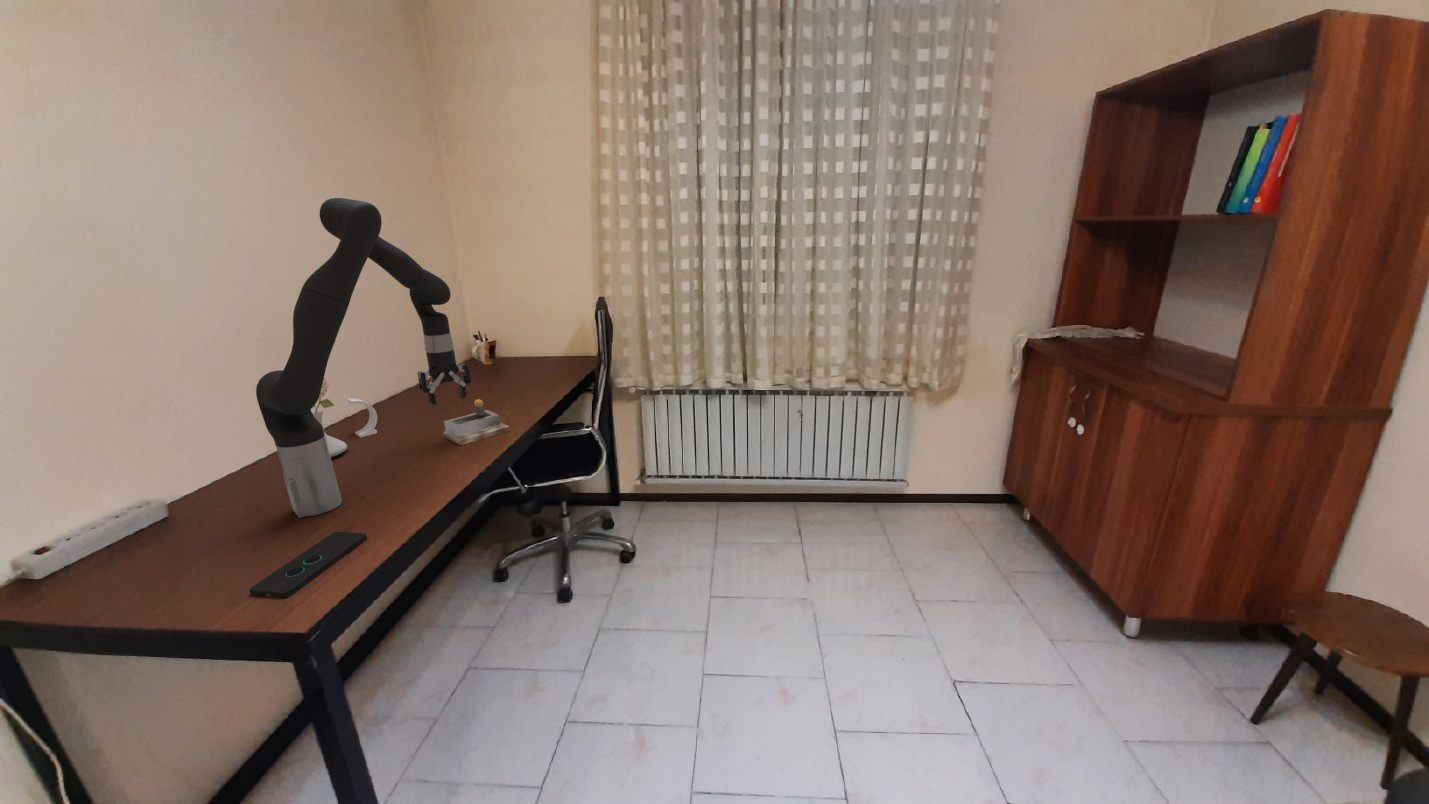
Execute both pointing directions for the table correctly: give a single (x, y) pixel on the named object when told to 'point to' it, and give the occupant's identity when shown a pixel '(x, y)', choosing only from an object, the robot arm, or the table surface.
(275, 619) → the table surface
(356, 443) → the table surface
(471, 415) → the steel link
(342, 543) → the smart home device
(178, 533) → the table surface
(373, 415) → the headphone stand
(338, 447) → the flower in vase
